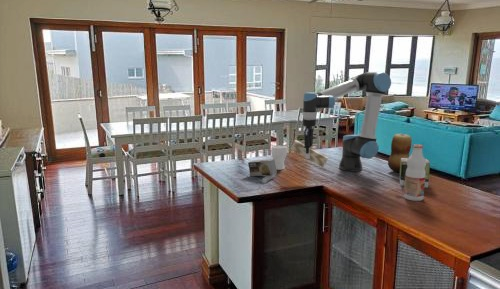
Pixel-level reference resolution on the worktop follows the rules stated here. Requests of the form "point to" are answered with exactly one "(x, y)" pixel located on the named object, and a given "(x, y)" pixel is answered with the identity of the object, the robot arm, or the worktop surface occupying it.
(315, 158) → the beech stick
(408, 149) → the butternut squash
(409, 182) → the fruit juice
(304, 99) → the robot arm
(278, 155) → the cup
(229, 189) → the worktop surface
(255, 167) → the coffee box
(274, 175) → the stop batten
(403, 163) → the tea box
